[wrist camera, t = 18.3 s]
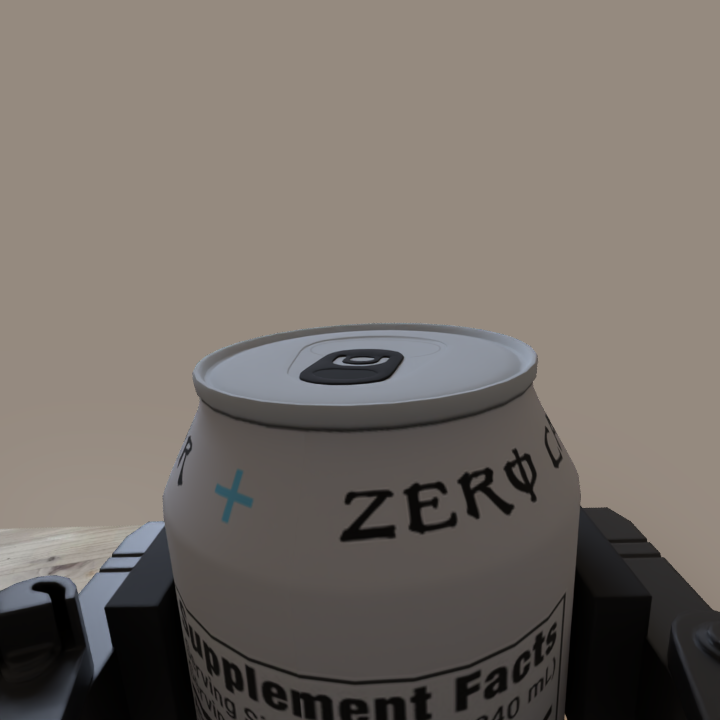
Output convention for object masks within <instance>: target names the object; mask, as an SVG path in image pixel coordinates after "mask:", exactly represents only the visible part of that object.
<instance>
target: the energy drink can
mask: <svg viewBox="0 0 720 720" xmlns="http://www.w3.org/2000/svg"><path fill="white" fill-rule="evenodd" d="M537 362H538V358H537V354H536V353H535V351H534V350H533V349H532V348H531V346H529V345H527V344H525V343H524V342H522V341H520V340H518V339H515V338H512V337H509V336H507V335H504V334H500V333H495V332H491V331H486V330H481V329H474V328H467V327H460V326H450V325H437V324H416V323H415V324H414V323H377V324H375V323H372V324H352V325H340V326H327V327H318V328H310V329H302V330H295V331H288V332H282V333H277V334H272V335H267V336H262V337H257V338H254V339H250V340H246V341H242V342H239V343H236V344H233V345H230V346H227V347H224V348H221V349H219V350H217V351H215V352H213V353H211V354H209V355H207V356H206V357H204V358H203V359H202V360H201V361H199V362H198V363H197V365H196V367H195V369H194V371H193V373H192V374H193V382H194V386H195V389H196V392H197V395H198V396H199V397H200V402H199V407H198V410H197V413H196V415H195V417H194V420H193V422H192V424H191V427H190V429H189V431H188V434H187V436H186V438H185V441H184V443H183V445H182V448H181V450H180V452H179V454H178V457H177V459H176V462H175V464H174V466H173V469H172V471H171V474H170V477H169V480H168V482H167V485H166V488H165V491H164V495H163V512H164V523H165V529H166V535H167V541H168V547H169V553H170V559H171V565H172V571H173V577H174V583H175V589H176V595H177V601H178V607H179V613H180V619H181V625H182V631H183V637H184V643H185V649H186V655H187V661H188V667H189V673H190V679H191V685H192V691H193V697H194V703H195V709H196V715H197V720H564V715H565V701H566V688H567V675H568V661H569V648H570V634H571V621H572V608H573V594H574V581H575V567H576V554H577V541H578V527H579V514H580V500H581V494H580V485H579V477H578V473H577V470H576V468H575V466H574V464H573V462H572V460H571V458H570V457H569V455H568V453H567V451H566V449H565V448H564V445H563V444H562V442H561V440H560V438H559V437H558V435H557V433H556V431H555V429H554V427H553V426H552V424H551V422H550V420H549V418H548V416H547V414H546V413H545V411H544V409H543V407H542V405H541V403H540V401H539V399H538V397H537V395H536V392H535V390H534V388H533V381H534V379H535V378H536V373H537Z"/></svg>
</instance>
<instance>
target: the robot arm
mask: <svg viewBox="0 0 720 720" xmlns="http://www.w3.org/2000/svg"><path fill="white" fill-rule="evenodd" d="M565 715H566V717H567V720H720V612H718V611H714V610H712V609H711V608H710V607H709V605H708V604H707V603H706V602H705V601H704V600H703V599H702V598H701V597H700V596H699V595H698V594H697V593H696V591H695V590H694V589H693V588H692V587H691V586H690V585H689V584H688V583H687V582H686V581H685V580H684V578H682V576H681V575H680V574H679V573H678V572H677V571H676V570H675V569H674V568H673V567H672V565H671V564H670V563H669V562H668V561H667V560H666V559H665V558H663V557H661V555H660V553H659V551H658V550H657V549H656V548H655V547H654V546H653V545H652V544H651V543H650V542H647V539H646V537H645V536H644V535H643V534H642V533H641V532H640V531H639V530H638V529H637V528H636V527H635V526H634V524H633V523H632V522H631V521H629V520H627V519H626V518H624V517H622V516H621V515H619V514H617V513H616V512H614V511H612V510H611V509H609V508H607V507H606V508H582V507H581V506H580V514H579V527H578V541H577V554H576V567H575V581H574V594H573V608H572V621H571V634H570V648H569V661H568V675H567V688H566V701H565ZM0 720H197V715H196V709H195V703H194V697H193V691H192V685H191V679H190V673H189V667H188V661H187V655H186V649H185V643H184V637H183V631H182V625H181V619H180V613H179V607H178V601H177V595H176V589H175V583H174V577H173V571H172V565H171V559H170V553H169V547H168V541H167V535H166V529H165V523H164V521H160V522H147V523H146V524H144V525H143V526H142V527H140V528H139V529H137V530H136V531H134V532H133V533H131V534H130V535H128V536H127V537H126V538H125V539H124V540H123V542H122V543H121V544H120V545H119V546H118V548H117V549H116V550H115V551H114V552H113V554H112V558H108V560H107V561H106V562H105V563H104V564H103V566H102V567H101V568H100V572H99V573H96V574H95V575H94V576H93V578H92V579H91V580H90V581H89V582H88V584H87V585H86V586H85V587H84V588H83V590H82V591H81V592H80V593H79V594H78V592H77V588H76V585H75V584H74V583H73V582H72V581H71V579H70V578H66V577H62V576H57V575H53V576H43V577H36V578H33V579H29V580H26V581H22V582H19V583H16V584H14V585H12V586H10V587H8V588H6V589H4V590H1V591H0Z"/></svg>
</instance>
